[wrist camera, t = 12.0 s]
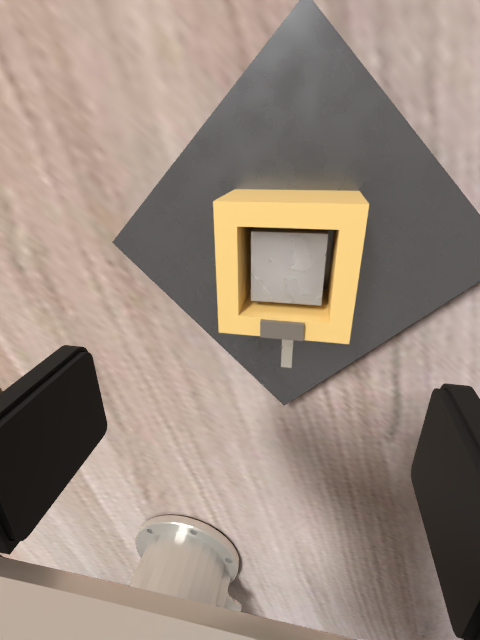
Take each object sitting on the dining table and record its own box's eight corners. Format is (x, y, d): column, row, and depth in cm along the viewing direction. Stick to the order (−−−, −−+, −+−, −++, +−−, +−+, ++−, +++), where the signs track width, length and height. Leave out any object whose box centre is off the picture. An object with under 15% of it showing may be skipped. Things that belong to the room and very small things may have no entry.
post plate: (502, 251, 22) (553, 283, 17) (285, 394, 30) (278, 442, 25) (307, 2, 19) (302, -46, 14) (122, 237, 27) (78, 258, 22)
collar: (359, 190, 21) (370, 205, 16) (344, 307, 24) (349, 346, 19) (234, 189, 22) (211, 201, 17) (236, 299, 25) (217, 334, 21)
